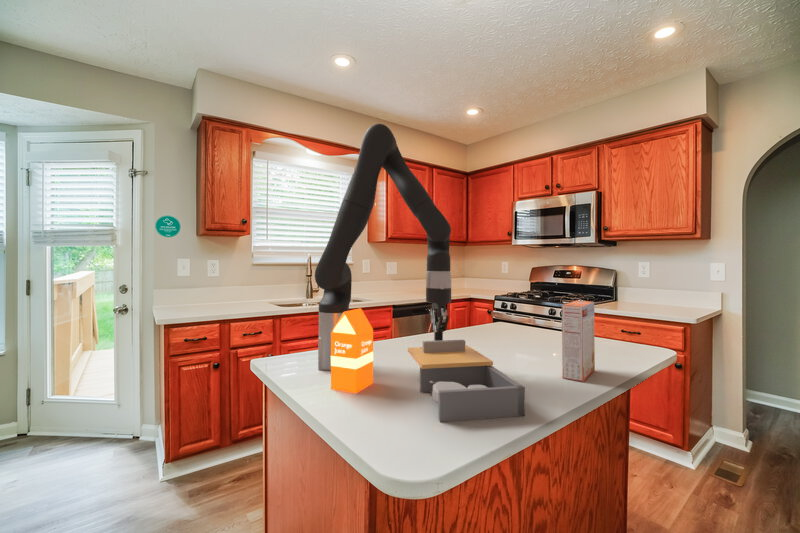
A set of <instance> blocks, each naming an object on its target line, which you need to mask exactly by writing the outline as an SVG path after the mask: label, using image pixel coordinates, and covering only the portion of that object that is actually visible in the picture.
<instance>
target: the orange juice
mask: <svg viewBox="0 0 800 533" xmlns="http://www.w3.org/2000/svg"><path fill="white" fill-rule="evenodd" d="M372 384H374V328H373V327H372V325H371V323H370V322H369V320H368V318H367V316H366V314H365V312H364V311H363V309H362V308H356V309H351V310H350V309H349V311H345V312H344V313H343V314H342V316H341V318H340V319H339V321H338V323H337V324H336V326H335V327H334V329H333V331H332V332H331V370H330V390H333V391H334V390H335V391H341V392H346V393H352V394H357V393H359V392H361V391H363V390H365V389H366V388H368V387H369V386H370V385H372Z"/></svg>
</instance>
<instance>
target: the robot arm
mask: <svg viewBox="0 0 800 533" xmlns="http://www.w3.org/2000/svg"><path fill="white" fill-rule="evenodd" d="M382 168H383V170H384V171H385V172H386V173H387V175H389V177H390V178H391V180H392V181H393V183H394V186H395V187H396V189H397V191H398V192H399V195H400V196H401V198H402V199H403V201H404V202H405V204H406V206H407V207H408V209H409V210H410V212H411V213H412V215H413V216H414V217H415V218H416V219H417V220H418V222H419V224H420V225H421V226H422V228H423V229H424V232H425V233H426V237H427V238H426V240H427V241H426V242H427V243H426V244H427V255H426V256H427V257H426V275H425V301H426V302H427V303H429V304H431V308H430V310H429V312H428V313H429V319H430V324H431V329H432V330H433V334H434V335H433V336H434V338H433V341H438V340H444V337H443V336H444V332H446V331H447V327H448V322H449V315H447V313H448V311H447V309H446V304H450V303H451V302H452V274H451V273H452V272H451V255H450V240H451V238H450V237H451V233H452V228H451V224H450V223H449V221H448V220H447V219H446V217H445V215H444V214H443V213H442V212H441V211H440V209H439V208H438V207H437V206H436V204H435V202H434V200H433V199H432V197H431V196H430V194H429V193H428V191H427V190H426V189H425V187H424V185H423V184H422V183H421V182H420V180H419V179H418V178H417V176H415V174H414V173H413V172H412V170H411V169H410V168H409V166H408V164H407V163H406V161H405V159H404V158H403V155H402V153H401V151H400V149H399V146H398V143H397V140H396V138H395V135H394V133H393V132H392V130H391V129H390V128H389V127H388V126H387V125H385V124H383V123H375V124H373V125H371V126H370V127H368V128H367V130H366V131H365V132H364V135H363V137H362V140H361V144H360V150H359V153H358V158H357V161H356V165H355V168H354V171H353V173H352V174H351V175H352V176H351V178H350V181H349V183H348V186H347V188H346V191H345V193H344V195H343V198H342V201H341V204H340V207H339V209H338V212H337V216H336V218H335V221H334V225H333V228H332V229H331V230H332V231H331V233H330V237H329V240H328V241H327V244H326V246H325V249H324V251H323V253H322V254H321V257H320V259H319V261H318V263H317V265H316V267H315V271H314V280H315V283H316V285H317V286H318V288H320V289H322V290H323V295H322V298H321V300H320V301H319V303H318V341H317V342H318V343H317V344H318V346H317V347H318V350H317V352H318V353H317V354H318V355H317V359H318V361H317V364H318V365H317V368H318V370H324V371H331V332H332V331H333V329H334V327H335V326H336V324H337V323H338V321H339V319H340V318H341V316H342V314H343V313H344V312H345V311H350V305H351V300H352V270H351V267H350V265H349V264H348V263H347V261H348V257H349V254H350V251H351V250H352V248H353V246H354V244H355V243H356V242H357V240H358V239H359V237H360V236H361V235H362V233H363V232H364V230H365V228H366V226H367V224H368V222H369V219H370V217H371V214H372V211H373V208H374V204H375V199H376V193H377V186H378V180H379V175H380V173H381V171H382Z"/></svg>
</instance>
